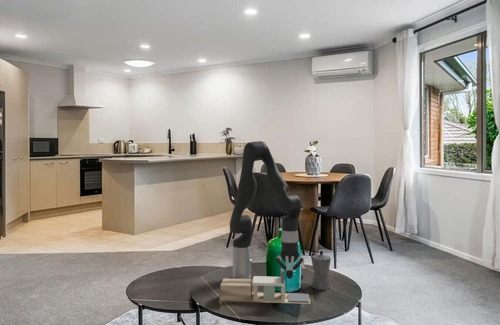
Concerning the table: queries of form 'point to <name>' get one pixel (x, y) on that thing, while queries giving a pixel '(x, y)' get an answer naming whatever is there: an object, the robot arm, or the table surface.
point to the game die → (302, 269)
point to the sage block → (269, 292)
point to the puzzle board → (261, 297)
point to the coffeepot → (320, 271)
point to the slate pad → (297, 297)
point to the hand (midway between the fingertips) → (289, 278)
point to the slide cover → (269, 280)
